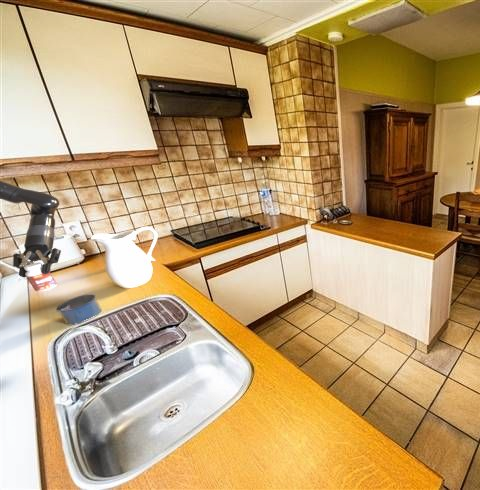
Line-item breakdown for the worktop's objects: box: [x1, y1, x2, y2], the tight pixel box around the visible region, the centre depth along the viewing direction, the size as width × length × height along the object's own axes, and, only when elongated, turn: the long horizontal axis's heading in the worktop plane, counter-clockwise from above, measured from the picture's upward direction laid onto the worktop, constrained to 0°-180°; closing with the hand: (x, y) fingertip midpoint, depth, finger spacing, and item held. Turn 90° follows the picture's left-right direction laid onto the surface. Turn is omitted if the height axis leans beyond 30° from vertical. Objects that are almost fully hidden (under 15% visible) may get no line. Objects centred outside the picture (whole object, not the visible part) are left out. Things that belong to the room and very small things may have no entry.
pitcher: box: [89, 226, 159, 289], centre depth 133 cm, size 24×17×28 cm
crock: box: [55, 293, 103, 325], centre depth 111 cm, size 12×12×7 cm
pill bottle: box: [24, 262, 58, 293], centre depth 109 cm, size 6×6×11 cm
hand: (34, 274), depth 107 cm, fingers closed on pill bottle, 6 cm apart
